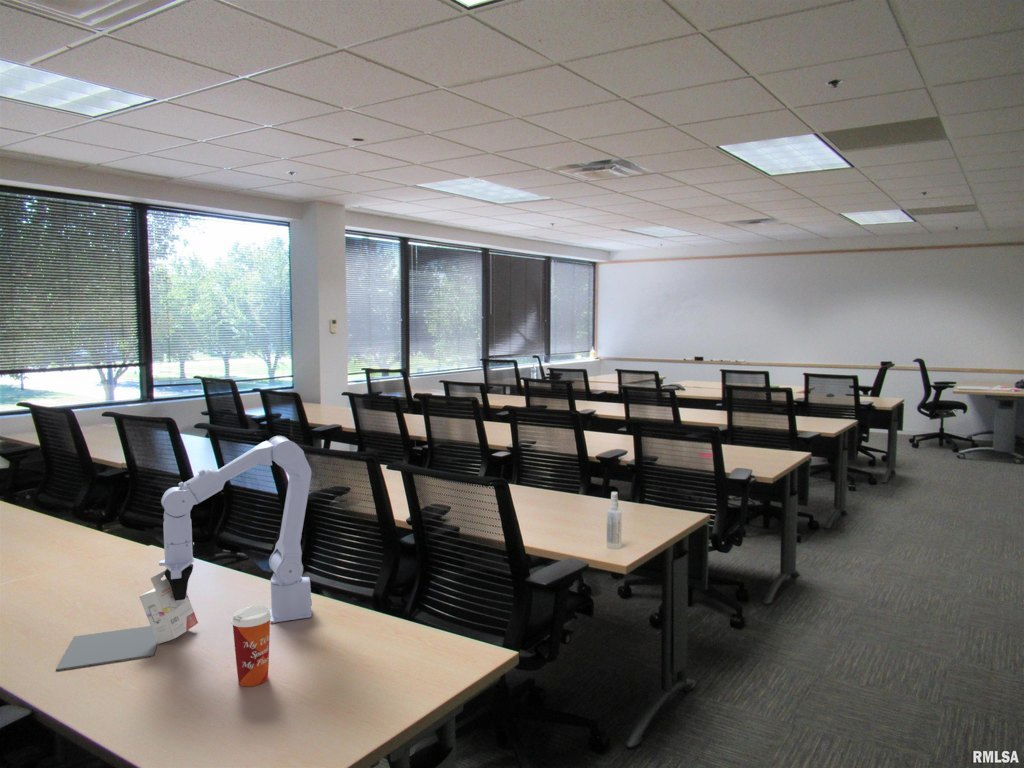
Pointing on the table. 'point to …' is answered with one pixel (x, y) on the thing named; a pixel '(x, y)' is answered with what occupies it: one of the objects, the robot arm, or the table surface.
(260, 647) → the paper cup
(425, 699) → the table surface
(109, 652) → the mat
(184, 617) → the ink cartridge box
